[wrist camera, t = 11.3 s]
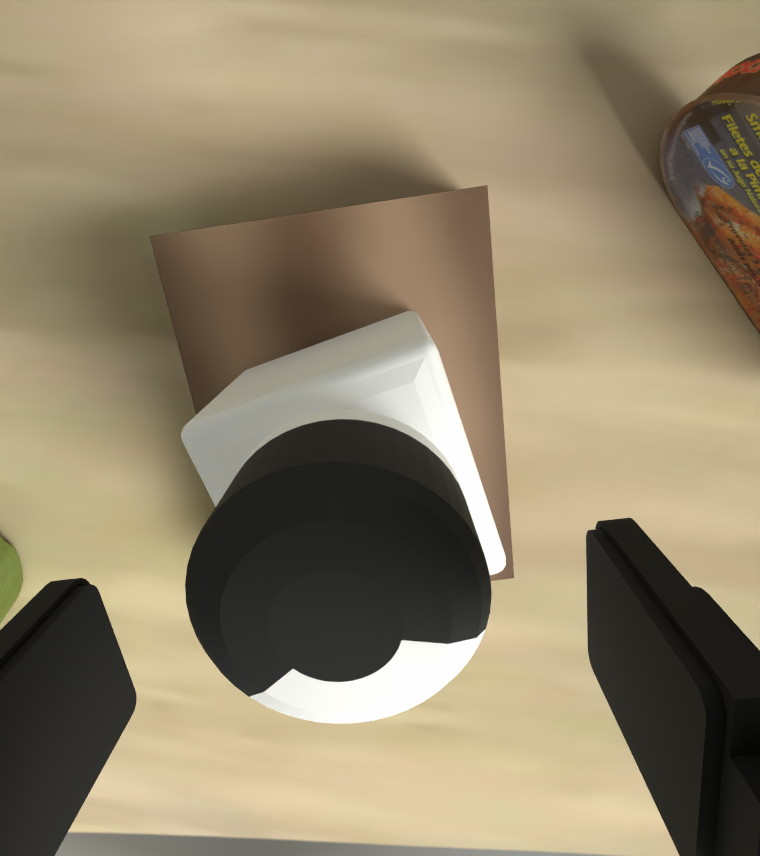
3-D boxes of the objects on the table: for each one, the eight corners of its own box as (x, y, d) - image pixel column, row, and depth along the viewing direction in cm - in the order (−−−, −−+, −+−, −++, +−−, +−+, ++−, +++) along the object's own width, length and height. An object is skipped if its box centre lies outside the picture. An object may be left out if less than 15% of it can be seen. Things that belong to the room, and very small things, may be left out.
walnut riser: (468, 195, 22) (487, 185, 18) (495, 532, 27) (514, 577, 23) (188, 238, 23) (150, 236, 19) (265, 560, 28) (247, 609, 24)
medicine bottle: (239, 370, 20) (65, 525, 9) (415, 306, 20) (465, 387, 8) (310, 525, 23) (240, 806, 11) (471, 473, 22) (569, 717, 10)
